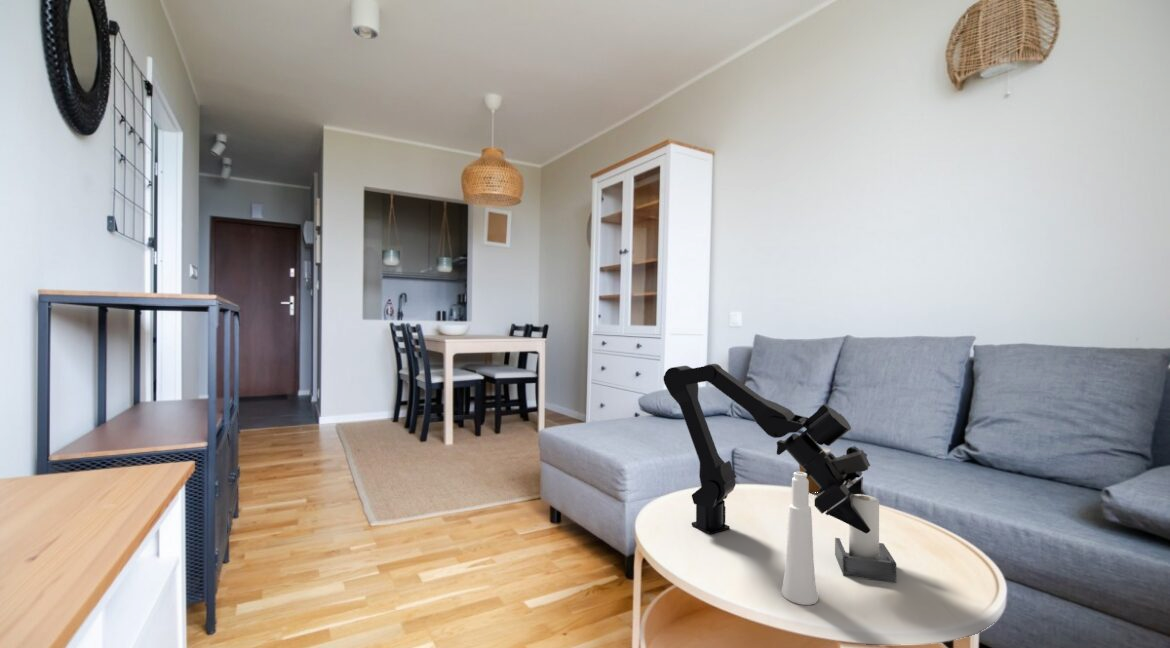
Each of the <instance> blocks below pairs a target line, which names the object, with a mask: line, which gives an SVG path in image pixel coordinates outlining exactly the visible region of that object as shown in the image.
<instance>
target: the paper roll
mask: <svg viewBox="0 0 1170 648" xmlns="http://www.w3.org/2000/svg"><path fill="white" fill-rule="evenodd" d="M852 499H853V505H854V507H855V508H856V510H857V511H858V512H859V514H860V515H861V517H862V518H863V519H864V521H865V522H866V524H867V525H868V527H869V528H870V532H868V533H864V532H862V531H860V530H858V529H856V528H854V527H853V526H851V525H849V524H848V526H849V527H848V530H849V531H848V553H849V556H854V557H862V558H870V559H878V560H879V543H880V500H879V499H878V498H877V497H874V496H872V495H868V494H866V495H862V494H853V495H852Z"/></svg>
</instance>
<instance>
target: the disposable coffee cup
mask: <svg viewBox="0 0 1170 648" xmlns="http://www.w3.org/2000/svg"><path fill="white" fill-rule="evenodd" d="M820 447H821V448H822V449H823V451H825V453H826V454H828V453H830V454H831V453H832V451H831V449H830V448H827V447H825V446H820ZM798 468H799V472H805V470H804V469H803V468H802V467H801V466H800V465H799V464H798ZM806 478H807V479H808V481H809V494H815V492H816V493H817V492H818V494H819V493H820V492H819V491H818V490H819V489H820V487H819V486H818V485H817V484H816V483H815V482H814V480H813V479H812V478H811V477H810V476H808V477H806Z"/></svg>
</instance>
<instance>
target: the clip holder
mask: <svg viewBox="0 0 1170 648" xmlns="http://www.w3.org/2000/svg"><path fill="white" fill-rule="evenodd" d="M834 556H835V559H836V561H837V562H838V563H837V564H838V566H839V569H840V570H841V574H842V576H844V577H851V578H852V577H853V578H859V579H867V580H872V581H873V580H874V581H880V582H882V581H883V582H888V583H897V562H896V561H895V558H894V557H893V556H892V554H891V553H890V551H889V550H888V549H887V547H886V545H885V544H884V542H879V560H878V559H870V558H862V557H854V556H849V552H846V549H845V548H844V545H843V544H842V541H841V539H840V537H835V538H834Z"/></svg>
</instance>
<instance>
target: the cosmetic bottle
mask: <svg viewBox="0 0 1170 648" xmlns="http://www.w3.org/2000/svg"><path fill="white" fill-rule="evenodd" d="M806 477H807V474H806V473H804V472H800V471H794V472H793V477H792V478H791V503H789V506H788V517H787V518H788V521H787V535H786V536H787V537H786V538H787V539H786V554H785V565H784V572H783V573H784V574H783V581H782V586H781V595H782V596H783V597H784V598H785V599H786V600H788V601H789V602H791V603H794V604H798V605H801V606H811V605H815V604H816V603H817V602H818V601H819V596H818V595H819V594H818V591H817V589H818V588H817V582H816V575H815V563H814V561H815V560H814V542H813V540H814V537H813V518H812V507H811V506H810V505H809V504H810V503H809V502H810V501H809V500H810V499H809V495H810V493H809V481H808V479H807V478H806Z"/></svg>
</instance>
